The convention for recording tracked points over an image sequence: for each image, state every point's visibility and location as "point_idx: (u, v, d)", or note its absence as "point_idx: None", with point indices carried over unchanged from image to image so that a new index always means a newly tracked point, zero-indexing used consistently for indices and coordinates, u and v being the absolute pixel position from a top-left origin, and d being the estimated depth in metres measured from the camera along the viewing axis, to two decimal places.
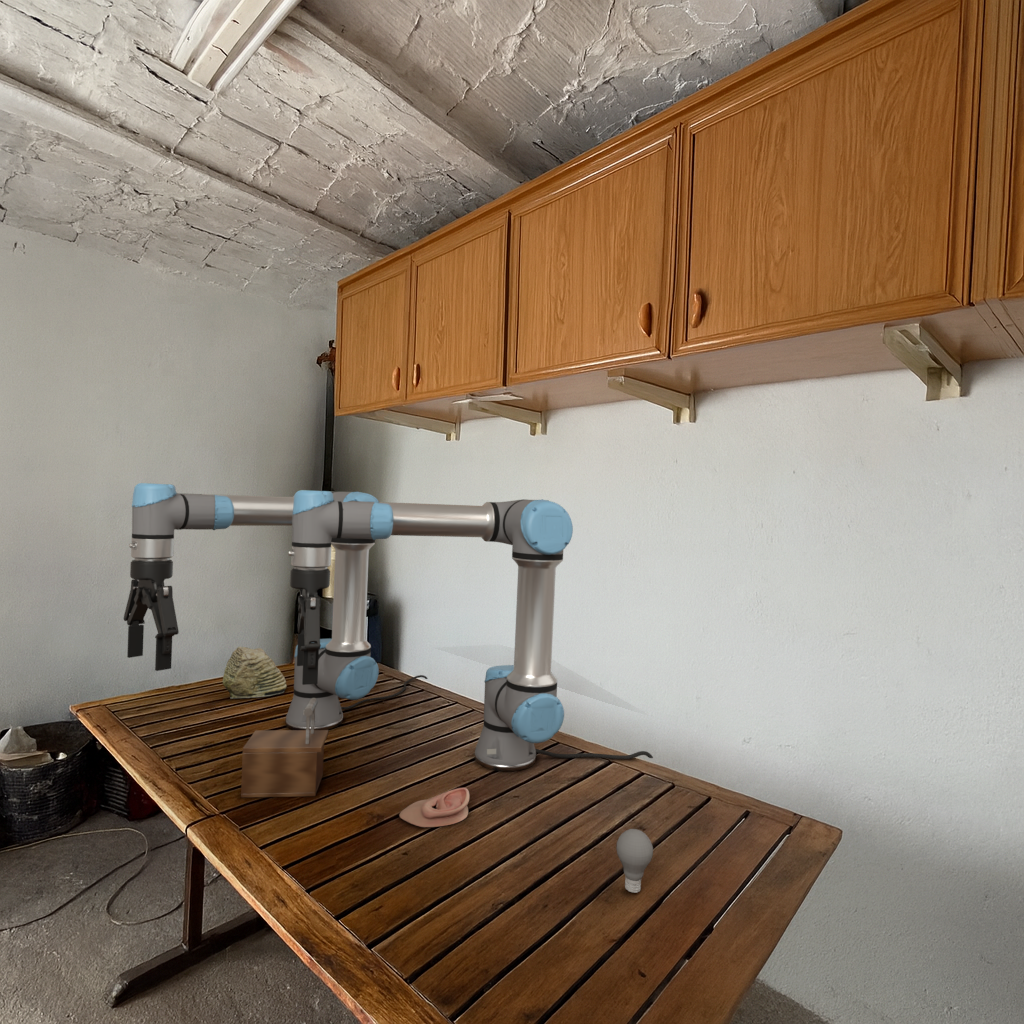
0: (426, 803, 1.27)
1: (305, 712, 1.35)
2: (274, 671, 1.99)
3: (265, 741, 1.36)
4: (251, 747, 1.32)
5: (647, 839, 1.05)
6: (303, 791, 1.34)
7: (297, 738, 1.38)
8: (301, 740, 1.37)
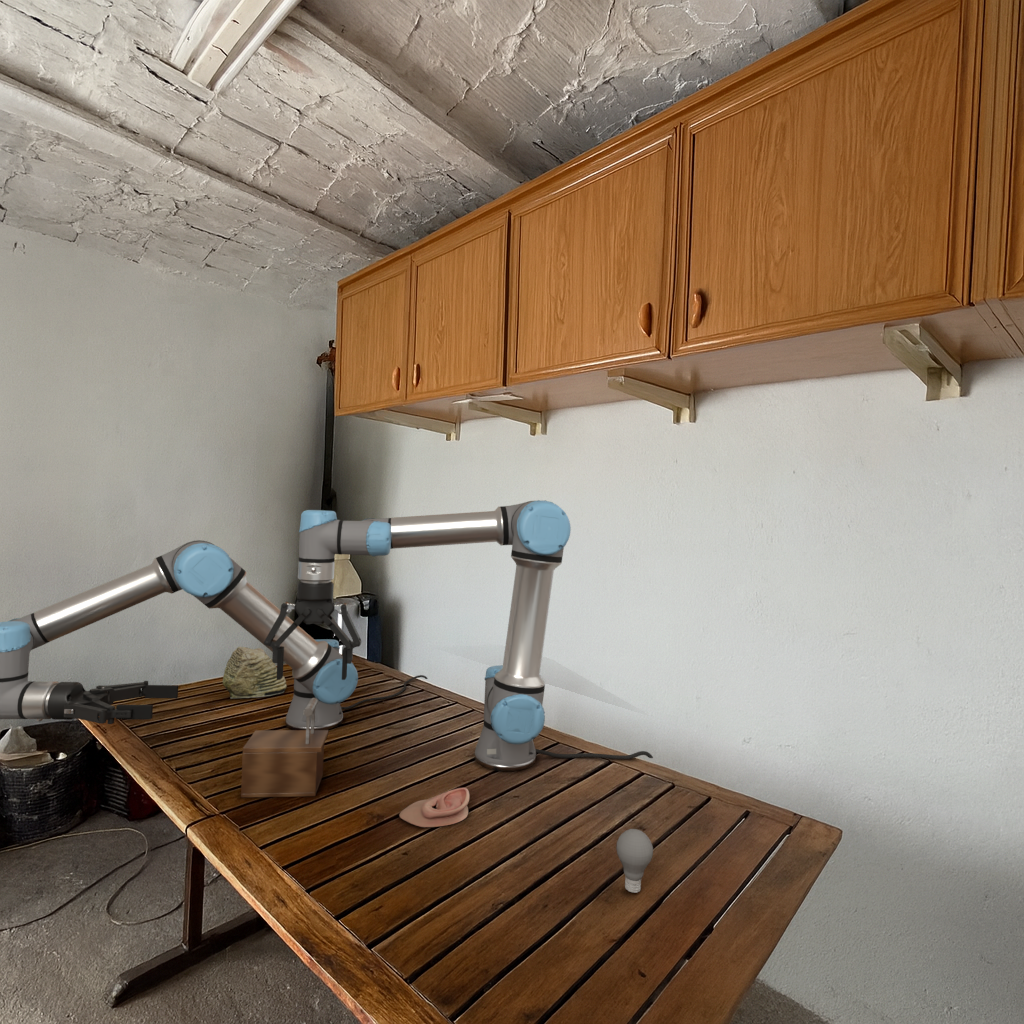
0: (426, 803, 1.27)
1: (305, 712, 1.35)
2: (274, 671, 1.99)
3: (265, 741, 1.36)
4: (251, 747, 1.32)
5: (647, 839, 1.05)
6: (303, 791, 1.34)
7: (297, 738, 1.38)
8: (301, 740, 1.37)
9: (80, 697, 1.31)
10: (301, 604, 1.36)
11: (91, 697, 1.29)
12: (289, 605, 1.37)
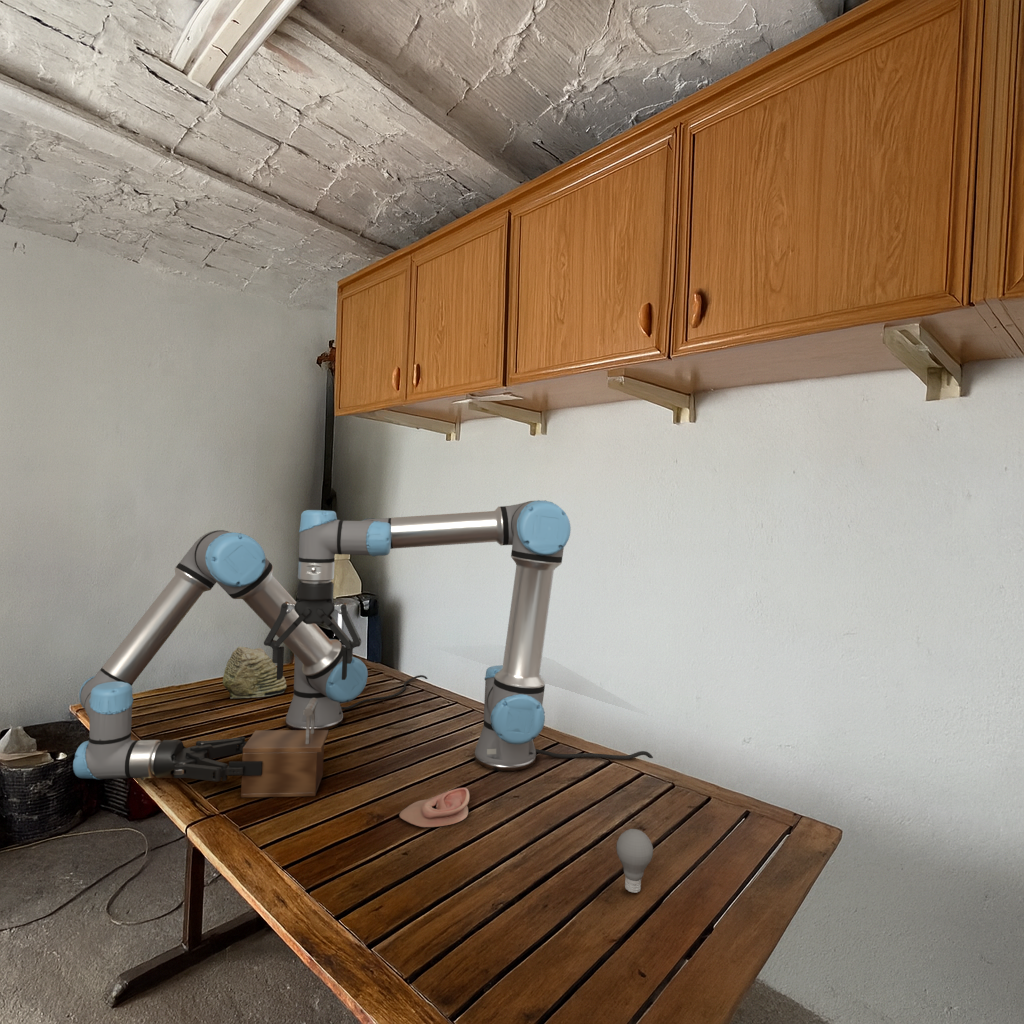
0: (426, 803, 1.27)
1: (305, 712, 1.35)
2: (274, 671, 1.99)
3: (265, 741, 1.36)
4: (251, 747, 1.32)
5: (647, 839, 1.05)
6: (303, 791, 1.34)
7: (297, 738, 1.38)
8: (301, 740, 1.37)
9: (183, 755, 1.34)
10: (301, 604, 1.36)
11: (197, 755, 1.33)
12: (289, 605, 1.37)
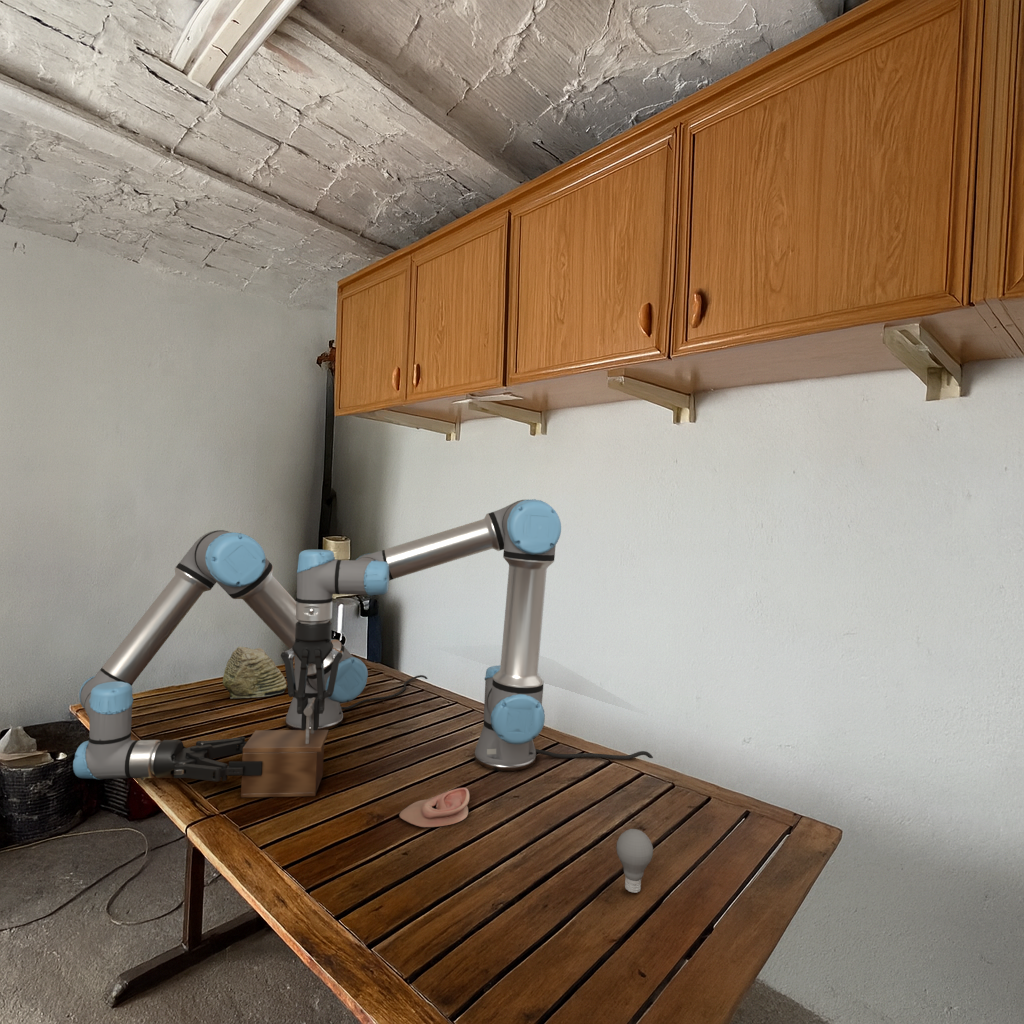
0: (426, 803, 1.27)
1: (305, 712, 1.35)
2: (274, 671, 1.99)
3: (265, 741, 1.36)
4: (251, 747, 1.32)
5: (647, 839, 1.05)
6: (303, 791, 1.34)
7: (297, 738, 1.38)
8: (301, 740, 1.37)
9: (183, 755, 1.34)
10: (297, 644, 1.36)
11: (196, 755, 1.33)
12: (288, 651, 1.37)
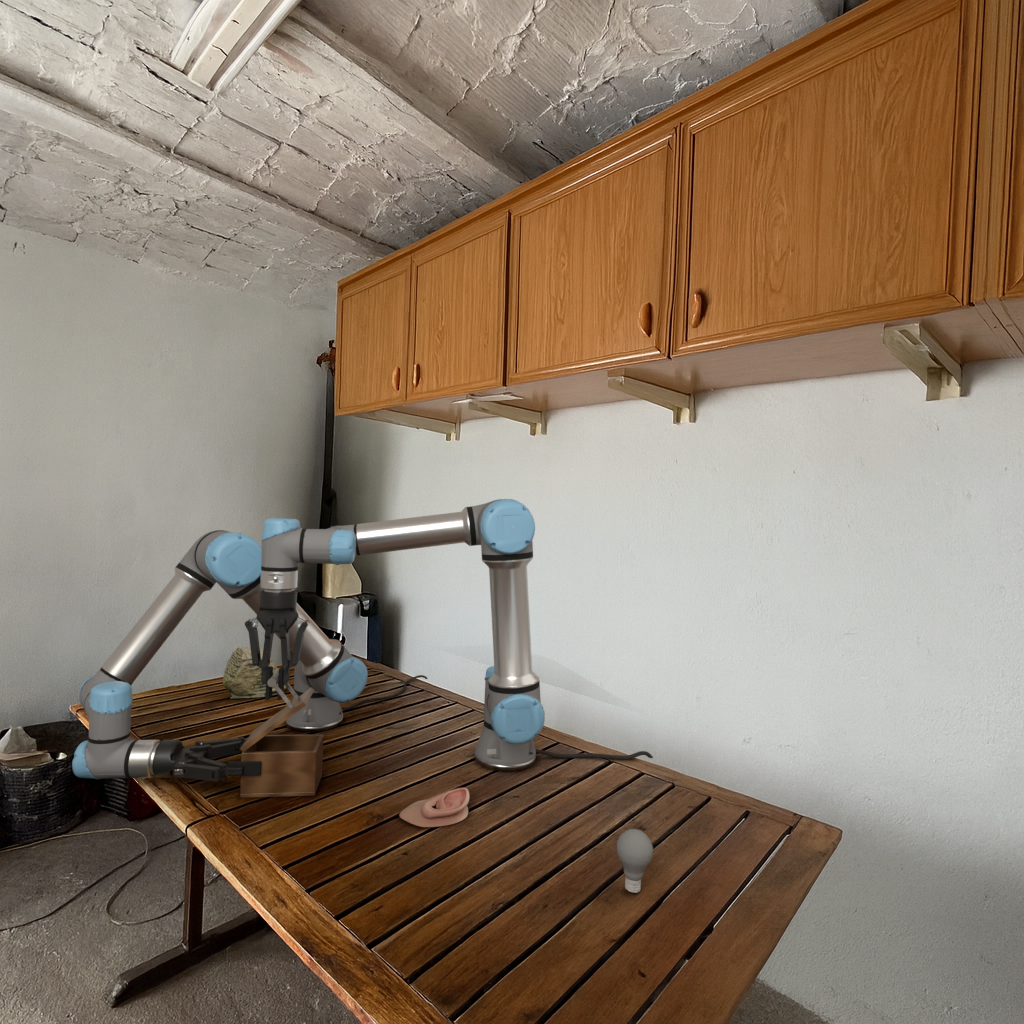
0: (426, 803, 1.27)
1: (269, 684, 1.34)
2: (274, 671, 1.99)
3: (259, 731, 1.35)
4: (247, 743, 1.32)
5: (647, 839, 1.05)
6: (302, 791, 1.34)
7: (285, 710, 1.38)
8: (288, 709, 1.37)
9: (182, 755, 1.34)
10: (261, 612, 1.35)
11: (196, 755, 1.33)
12: (252, 620, 1.36)
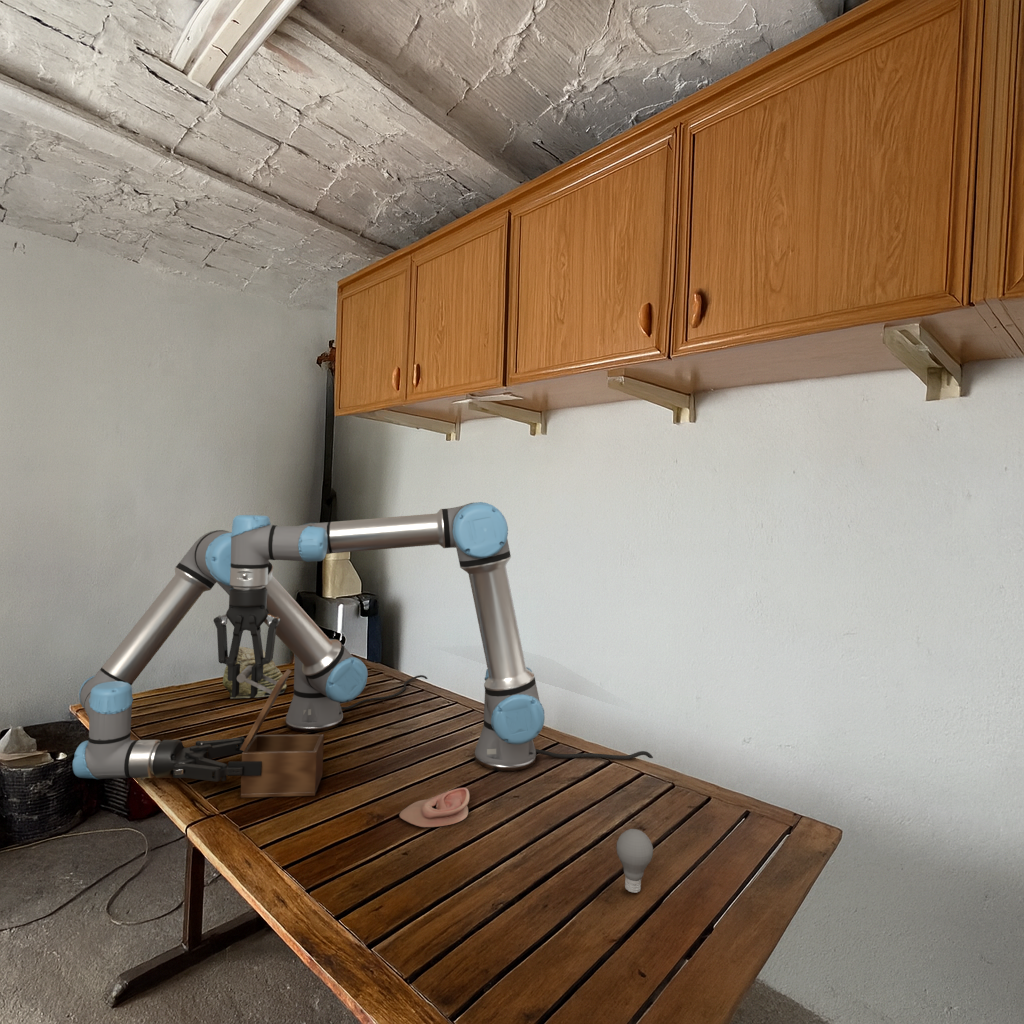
0: (426, 803, 1.27)
1: (240, 681, 1.33)
2: (274, 671, 1.99)
3: None
4: (244, 741, 1.32)
5: (647, 839, 1.05)
6: (303, 791, 1.34)
7: None
8: None
9: (183, 755, 1.34)
10: (231, 610, 1.34)
11: (196, 755, 1.33)
12: (221, 617, 1.35)
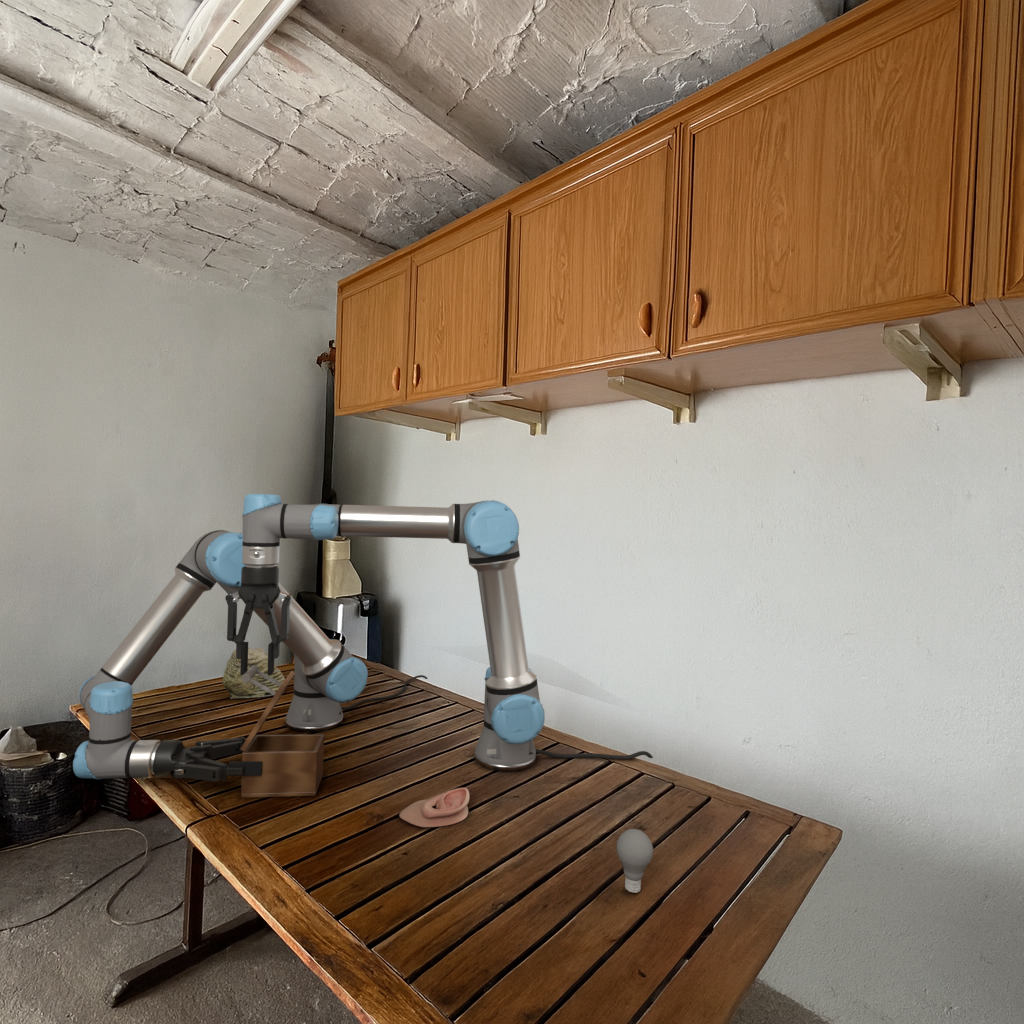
0: (426, 803, 1.27)
1: (244, 680, 1.33)
2: (274, 671, 1.99)
3: None
4: (245, 742, 1.32)
5: (647, 839, 1.05)
6: (303, 791, 1.34)
7: None
8: None
9: (183, 755, 1.34)
10: (243, 588, 1.35)
11: (196, 755, 1.33)
12: (233, 595, 1.35)
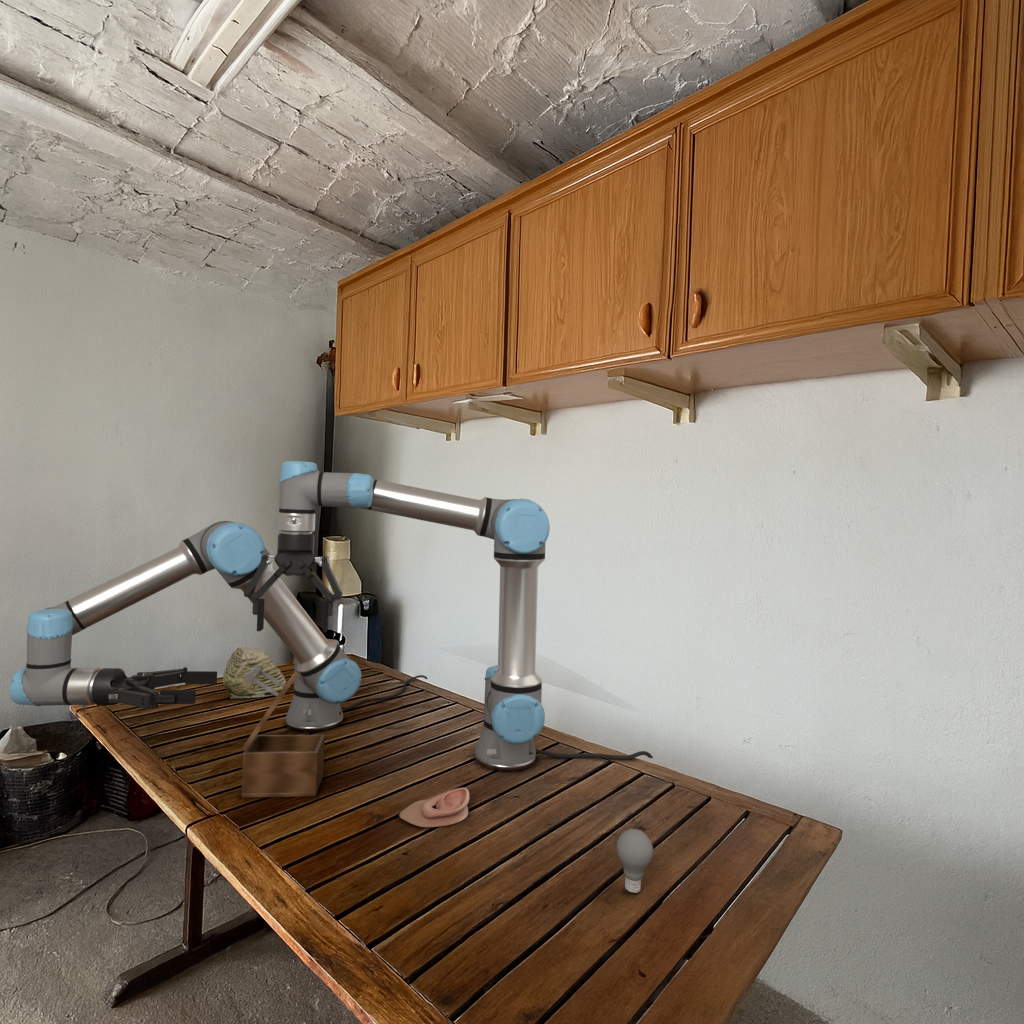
0: (426, 803, 1.27)
1: (247, 680, 1.33)
2: (274, 671, 1.99)
3: None
4: (246, 741, 1.32)
5: (647, 839, 1.05)
6: (303, 791, 1.34)
7: None
8: None
9: (123, 683, 1.32)
10: (281, 555, 1.36)
11: (134, 683, 1.30)
12: (269, 557, 1.36)
